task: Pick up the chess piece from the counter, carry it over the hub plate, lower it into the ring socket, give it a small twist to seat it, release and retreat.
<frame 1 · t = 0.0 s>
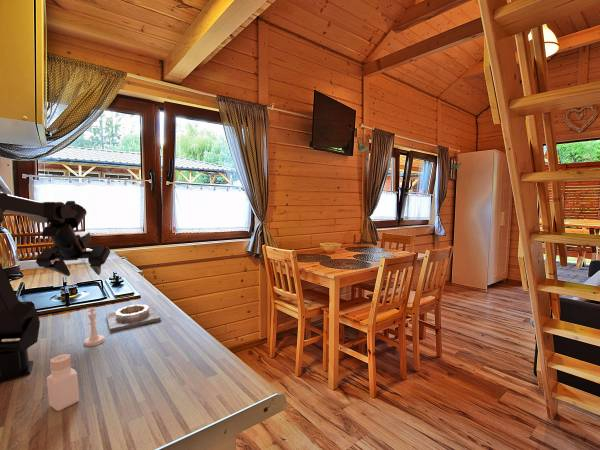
hand: (84, 274, 101), 15 cm above the kitchen counter, tool tilted 35°, fingers open, 9 cm apart
salt shaker: (64, 404, 62), on the kitchen counter
hub plate: (133, 319, 102), on the kitchen counter
chess piece: (94, 342, 87), on the kitchen counter
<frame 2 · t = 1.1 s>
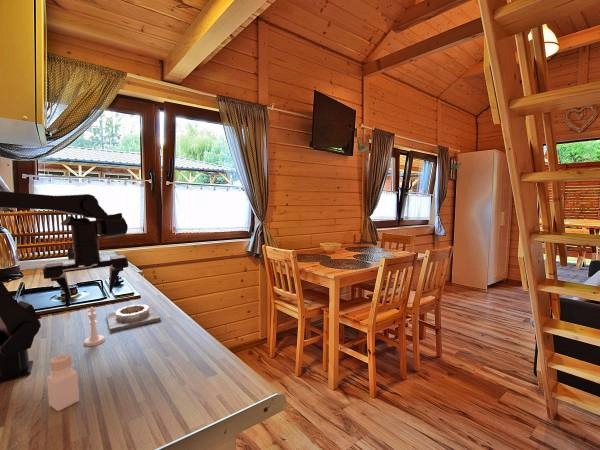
hand: (91, 296, 86), 13 cm above the kitchen counter, tool pointing down, fingers open, 9 cm apart
nothing on the kitchen counter moved.
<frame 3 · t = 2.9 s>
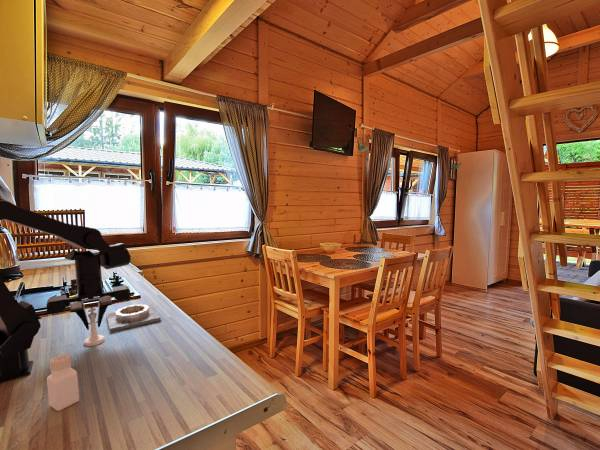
hand: (93, 328, 86), 4 cm above the kitchen counter, tool pointing down, fingers closed on chess piece, 2 cm apart
chess piece: (94, 342, 87), on the kitchen counter, touching gripper
everything else where it was.
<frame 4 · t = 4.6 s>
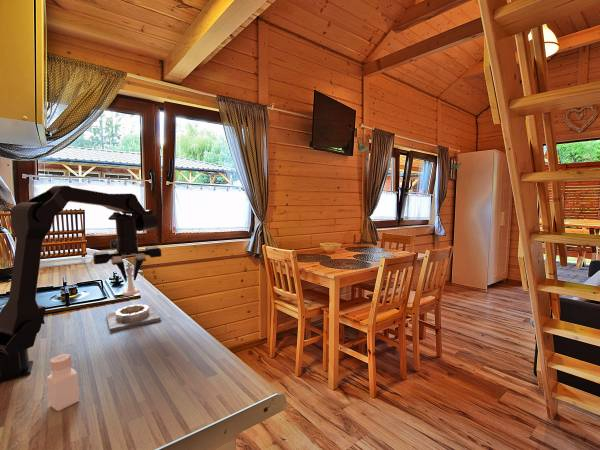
hand: (130, 280, 101), 13 cm above the kitchen counter, tool pointing down, fingers closed on chess piece, 2 cm apart
chess piece: (131, 293, 101), point 9 cm above the kitchen counter, touching gripper
everything else where it was.
when the fingers open (6 cm above the kitchen counter, at t = 6.3 s): chess piece stays where it is, resting on hub plate.
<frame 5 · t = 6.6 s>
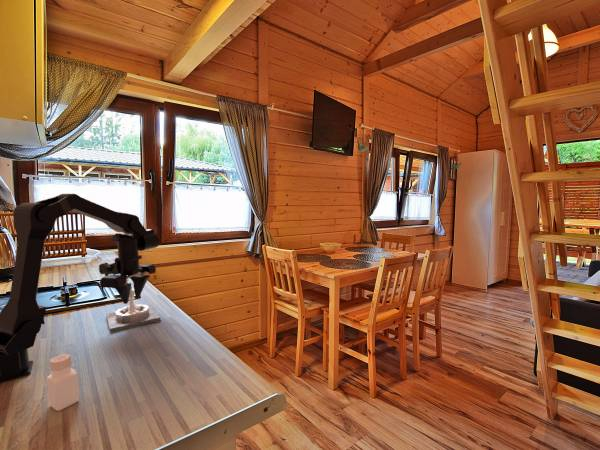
hand: (131, 300, 101), 6 cm above the kitchen counter, tool pointing down, fingers open, 5 cm apart
chess piece: (132, 316, 102), point 1 cm above the kitchen counter, touching hub plate
everything else where it was.
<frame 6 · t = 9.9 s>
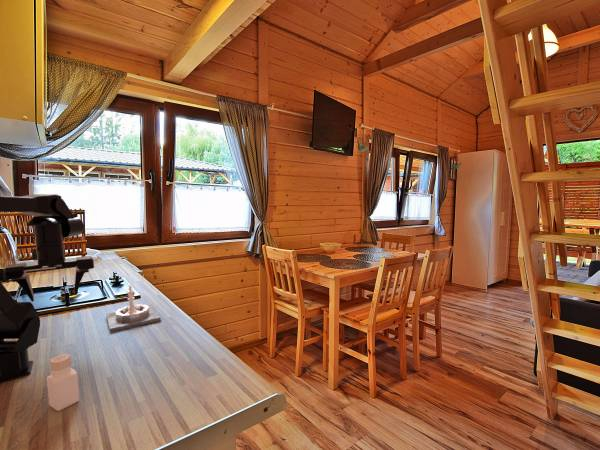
hand: (55, 297, 85), 13 cm above the kitchen counter, tool pointing down, fingers open, 9 cm apart
nothing on the kitchen counter moved.
at the end: chess piece 0.1 cm off-centre on the hub plate, point 1.2 cm above the hub plate's base; chess piece tilted 1°; the gripper is holding nothing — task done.
